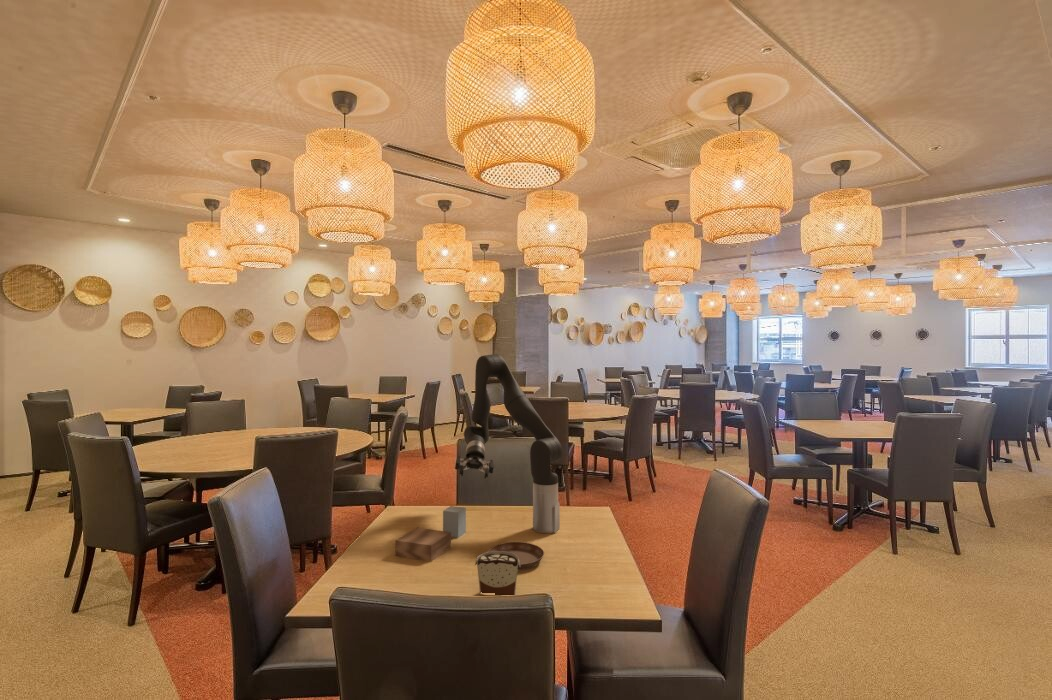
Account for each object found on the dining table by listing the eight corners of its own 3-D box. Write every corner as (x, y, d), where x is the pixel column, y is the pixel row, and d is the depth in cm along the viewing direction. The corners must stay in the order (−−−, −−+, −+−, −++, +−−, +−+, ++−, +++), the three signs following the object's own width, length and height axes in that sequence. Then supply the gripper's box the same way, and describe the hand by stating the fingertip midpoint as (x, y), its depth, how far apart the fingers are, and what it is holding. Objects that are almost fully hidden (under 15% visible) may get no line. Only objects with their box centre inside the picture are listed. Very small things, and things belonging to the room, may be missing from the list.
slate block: (465, 532, 194) (465, 507, 194) (458, 538, 188) (458, 512, 188) (450, 530, 196) (450, 506, 196) (443, 536, 190) (443, 510, 190)
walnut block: (450, 546, 179) (450, 532, 179) (431, 561, 167) (431, 545, 167) (416, 542, 184) (416, 527, 184) (395, 556, 171) (395, 540, 171)
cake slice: (522, 586, 150) (522, 551, 150) (520, 597, 143) (520, 559, 143) (479, 584, 151) (479, 549, 151) (474, 594, 145) (474, 557, 145)
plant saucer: (533, 577, 157) (533, 566, 157) (478, 568, 163) (478, 558, 163) (551, 555, 173) (551, 546, 173) (500, 548, 179) (500, 539, 179)
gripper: (458, 442, 209) (455, 463, 193) (494, 446, 210) (494, 468, 195) (456, 459, 211) (453, 481, 195) (492, 463, 212) (491, 486, 197)
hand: (473, 474), depth 195 cm, fingers open, 8 cm apart
